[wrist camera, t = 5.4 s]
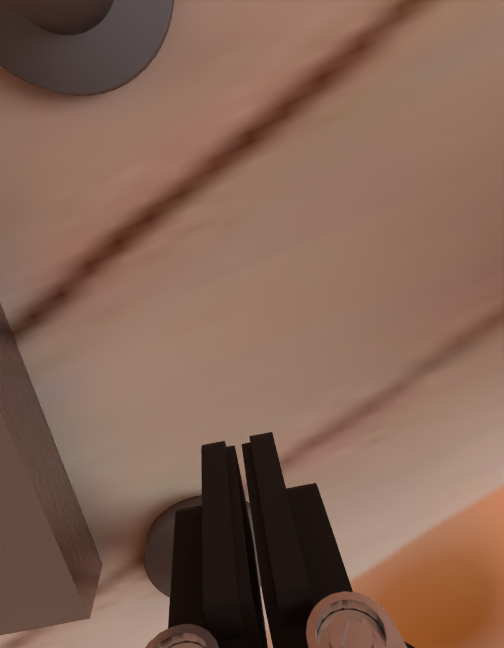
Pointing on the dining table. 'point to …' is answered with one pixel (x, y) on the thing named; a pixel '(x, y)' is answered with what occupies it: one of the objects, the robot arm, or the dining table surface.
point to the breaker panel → (37, 513)
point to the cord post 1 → (81, 41)
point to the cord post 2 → (170, 545)
